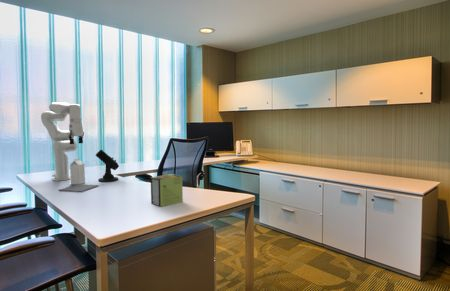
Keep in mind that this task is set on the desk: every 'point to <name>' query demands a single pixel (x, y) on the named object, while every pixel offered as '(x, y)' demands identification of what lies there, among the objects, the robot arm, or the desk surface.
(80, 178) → the milk carton
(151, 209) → the desk surface
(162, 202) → the protein box
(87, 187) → the rubber mat
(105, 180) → the microphone
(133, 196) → the desk surface
